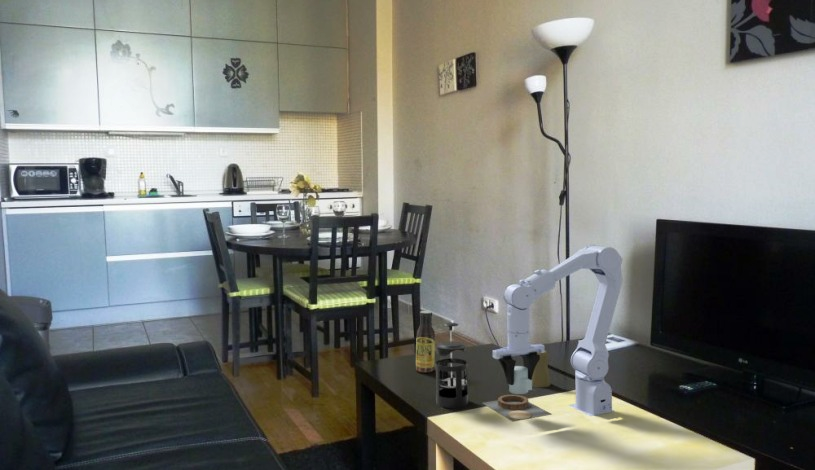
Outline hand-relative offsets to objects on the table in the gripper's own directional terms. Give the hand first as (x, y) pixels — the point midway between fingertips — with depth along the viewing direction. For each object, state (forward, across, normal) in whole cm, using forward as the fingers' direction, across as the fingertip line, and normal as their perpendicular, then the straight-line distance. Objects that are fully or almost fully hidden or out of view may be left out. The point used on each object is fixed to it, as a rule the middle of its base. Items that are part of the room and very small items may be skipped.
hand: (519, 382), depth 166 cm
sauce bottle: (+10, +4, -51) cm, 52 cm away
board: (+9, -2, -5) cm, 11 cm away
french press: (+10, +11, -17) cm, 23 cm away
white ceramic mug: (+2, 0, +1) cm, 3 cm away
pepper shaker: (+10, -20, -20) cm, 30 cm away
